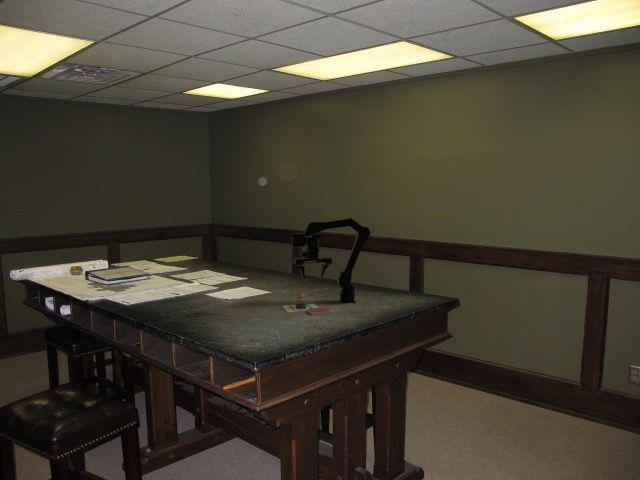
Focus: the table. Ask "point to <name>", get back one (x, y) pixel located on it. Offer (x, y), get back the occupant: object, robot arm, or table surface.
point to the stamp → (301, 301)
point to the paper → (293, 309)
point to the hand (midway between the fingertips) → (312, 278)
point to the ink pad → (319, 311)
